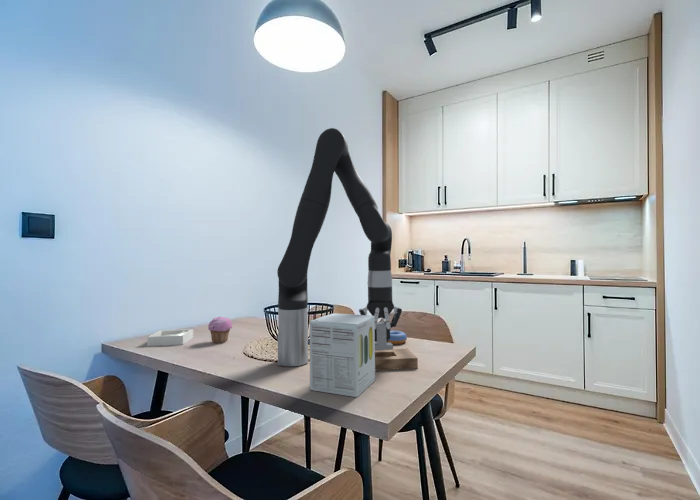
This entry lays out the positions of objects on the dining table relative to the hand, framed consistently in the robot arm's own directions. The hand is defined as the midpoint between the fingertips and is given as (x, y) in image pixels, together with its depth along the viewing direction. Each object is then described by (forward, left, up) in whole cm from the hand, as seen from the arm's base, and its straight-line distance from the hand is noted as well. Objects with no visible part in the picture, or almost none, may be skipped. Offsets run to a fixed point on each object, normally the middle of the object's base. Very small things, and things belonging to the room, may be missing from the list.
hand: (380, 340), depth 112 cm
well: (0, 0, -7) cm, 7 cm away
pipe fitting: (-76, +41, -8) cm, 87 cm away
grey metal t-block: (0, 0, -3) cm, 3 cm away
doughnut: (+10, +27, -8) cm, 30 cm away
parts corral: (-77, +41, -7) cm, 88 cm away
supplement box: (-13, -17, -7) cm, 22 cm away
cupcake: (-57, +37, -7) cm, 69 cm away
